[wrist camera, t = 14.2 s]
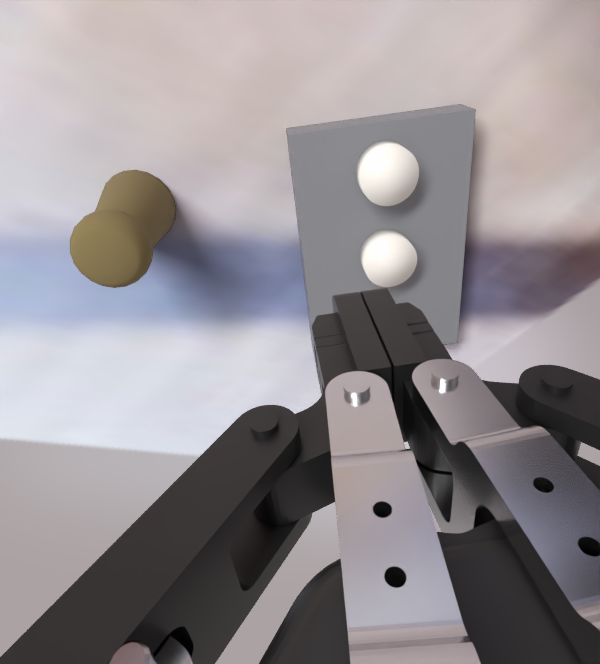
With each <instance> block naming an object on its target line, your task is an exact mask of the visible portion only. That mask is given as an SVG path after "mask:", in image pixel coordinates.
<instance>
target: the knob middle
mask: <svg viewBox="0 0 600 664" xmlns="http://www.w3.org/2000/svg"><path fill="white" fill-rule="evenodd" d="M360 262H361V265H362V267H363V269H364V271H365V273H366V275H367V277H368V278H369V280H370V281H371V282H373V283H374V284H376V285H378V286H381V287H393V286H397V285H399V284H401V283H403V282H405V281H406V280H407V279H408V278H409V277H410V276H411V275H412V273H413V272H414V270H415V268H416V265H417V253H416V250H415V248H414V247H413V245H412V244H411V243H410V242H409V240H408V239H407V238H406V236H405V235H404V234H402V233H401V232H399V231H397V230H393V229H383V230H379V231H377V232H375V233H373V234H372V235H370V236H369V237H368V238H367V239H366V240H365V242H364V243H363V245H362V247H361V250H360Z"/></svg>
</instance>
